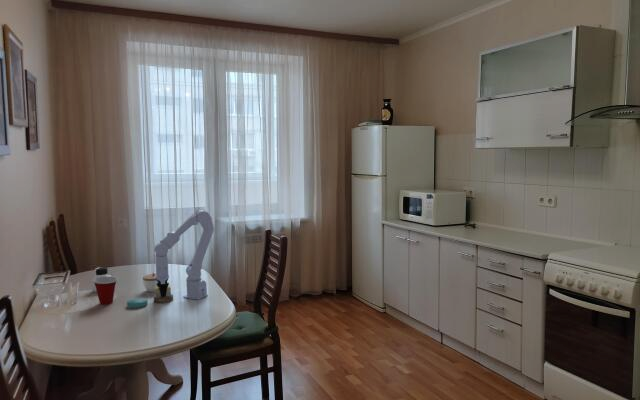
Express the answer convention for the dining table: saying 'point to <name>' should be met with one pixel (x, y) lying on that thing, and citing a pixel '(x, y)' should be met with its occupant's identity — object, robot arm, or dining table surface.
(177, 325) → the dining table surface
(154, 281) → the lidded jar
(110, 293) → the plastic cup
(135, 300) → the stand
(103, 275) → the medicine bottle
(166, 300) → the stand
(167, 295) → the block
